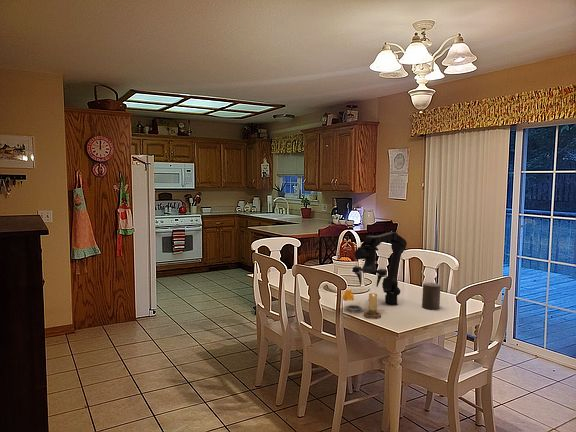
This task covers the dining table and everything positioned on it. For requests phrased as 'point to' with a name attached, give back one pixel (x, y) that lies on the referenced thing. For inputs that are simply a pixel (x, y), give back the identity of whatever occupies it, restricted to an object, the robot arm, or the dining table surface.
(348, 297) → the pipe clamp
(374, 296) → the sleeve
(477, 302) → the dining table surface
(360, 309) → the hub
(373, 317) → the stand collar
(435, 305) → the pillar candle
